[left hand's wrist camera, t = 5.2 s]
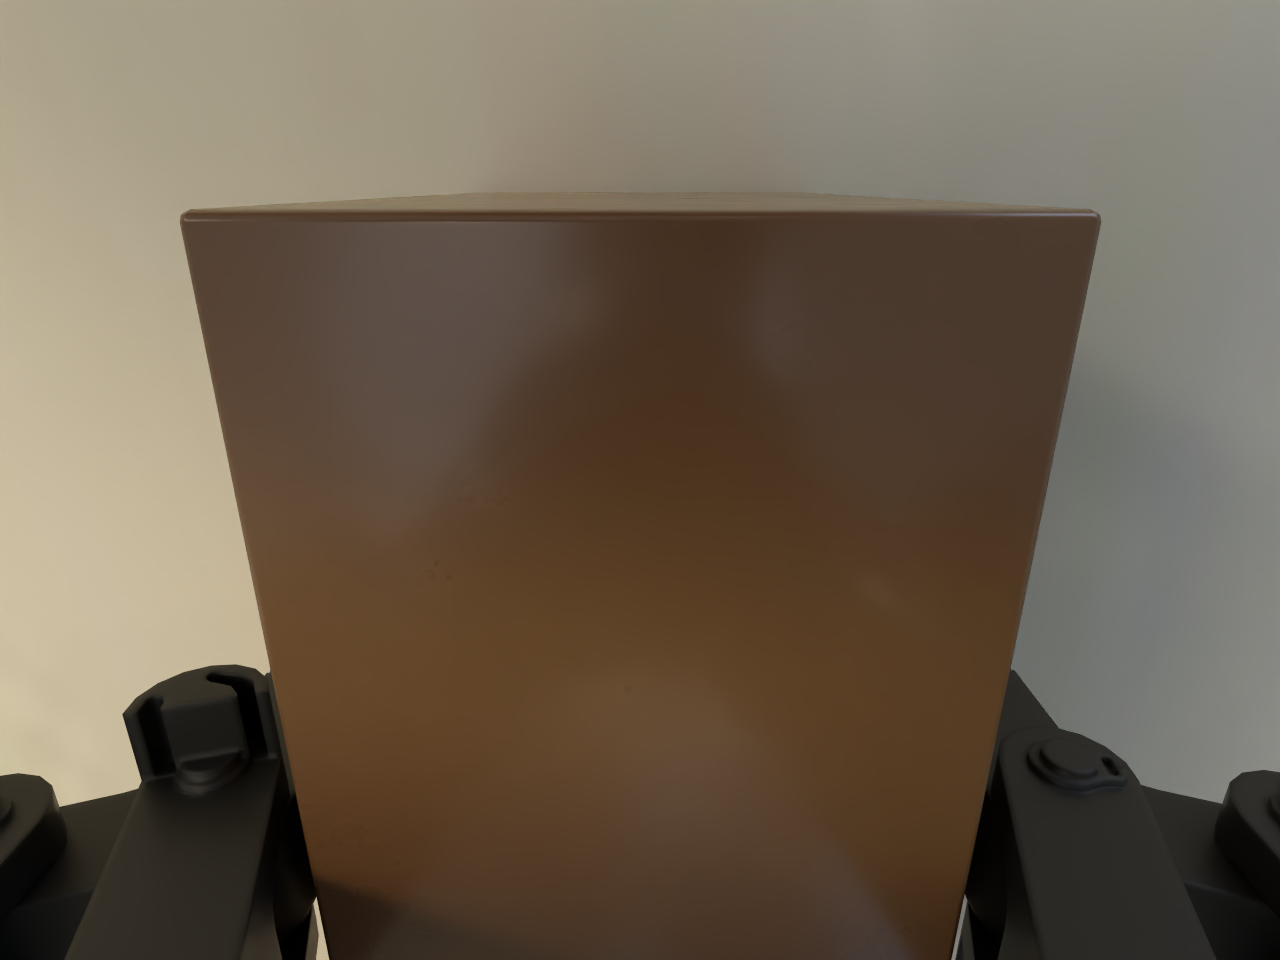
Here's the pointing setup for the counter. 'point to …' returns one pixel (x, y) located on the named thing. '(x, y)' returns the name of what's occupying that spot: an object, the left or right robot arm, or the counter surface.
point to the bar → (640, 554)
